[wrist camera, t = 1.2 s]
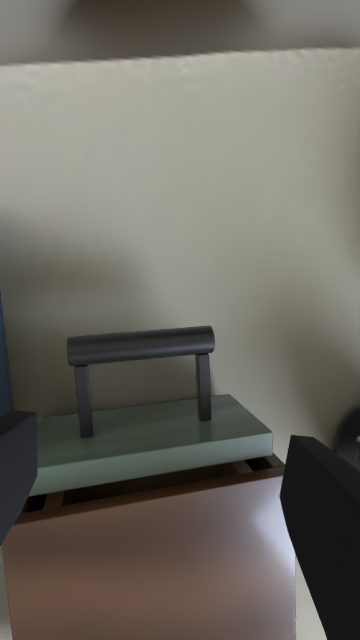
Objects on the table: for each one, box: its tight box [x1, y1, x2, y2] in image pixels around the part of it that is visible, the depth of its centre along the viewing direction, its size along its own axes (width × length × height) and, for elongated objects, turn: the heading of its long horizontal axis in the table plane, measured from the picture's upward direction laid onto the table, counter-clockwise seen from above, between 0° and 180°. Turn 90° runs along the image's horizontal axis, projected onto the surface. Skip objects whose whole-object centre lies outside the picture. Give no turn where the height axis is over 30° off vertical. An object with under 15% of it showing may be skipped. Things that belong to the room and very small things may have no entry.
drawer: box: [28, 326, 273, 509], centre depth 18 cm, size 17×11×6 cm, turn 3°
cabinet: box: [1, 453, 296, 640], centre depth 18 cm, size 13×12×7 cm
